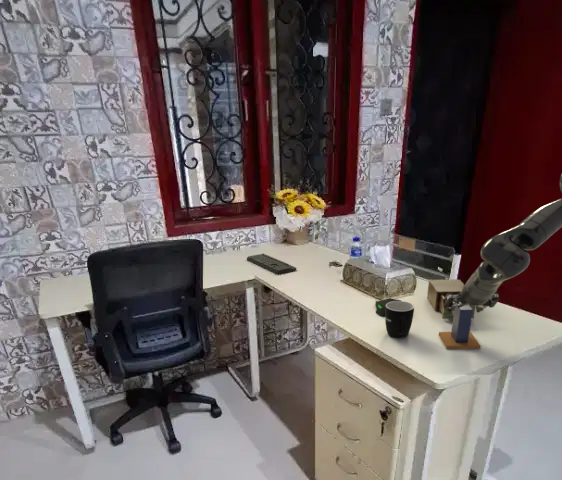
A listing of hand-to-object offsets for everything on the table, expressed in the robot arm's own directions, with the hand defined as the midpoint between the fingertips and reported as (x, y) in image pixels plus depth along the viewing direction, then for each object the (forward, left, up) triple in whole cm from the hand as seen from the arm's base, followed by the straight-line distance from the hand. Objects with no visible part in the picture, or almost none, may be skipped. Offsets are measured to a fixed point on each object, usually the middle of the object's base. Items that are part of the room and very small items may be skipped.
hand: (462, 309), depth 128 cm
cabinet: (-4, -31, -10) cm, 33 cm away
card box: (0, +1, -9) cm, 10 cm away
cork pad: (0, +1, -10) cm, 11 cm away
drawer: (-4, -19, -10) cm, 22 cm away
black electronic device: (+18, -25, -11) cm, 33 cm away
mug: (+18, -3, -11) cm, 21 cm away
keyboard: (+72, -90, -11) cm, 116 cm away
